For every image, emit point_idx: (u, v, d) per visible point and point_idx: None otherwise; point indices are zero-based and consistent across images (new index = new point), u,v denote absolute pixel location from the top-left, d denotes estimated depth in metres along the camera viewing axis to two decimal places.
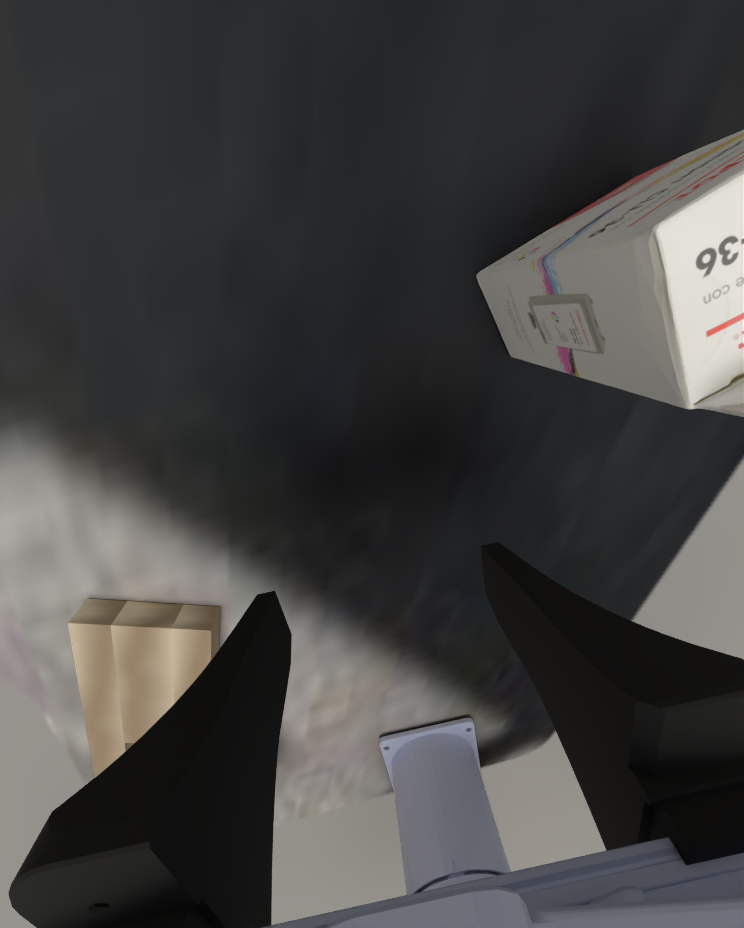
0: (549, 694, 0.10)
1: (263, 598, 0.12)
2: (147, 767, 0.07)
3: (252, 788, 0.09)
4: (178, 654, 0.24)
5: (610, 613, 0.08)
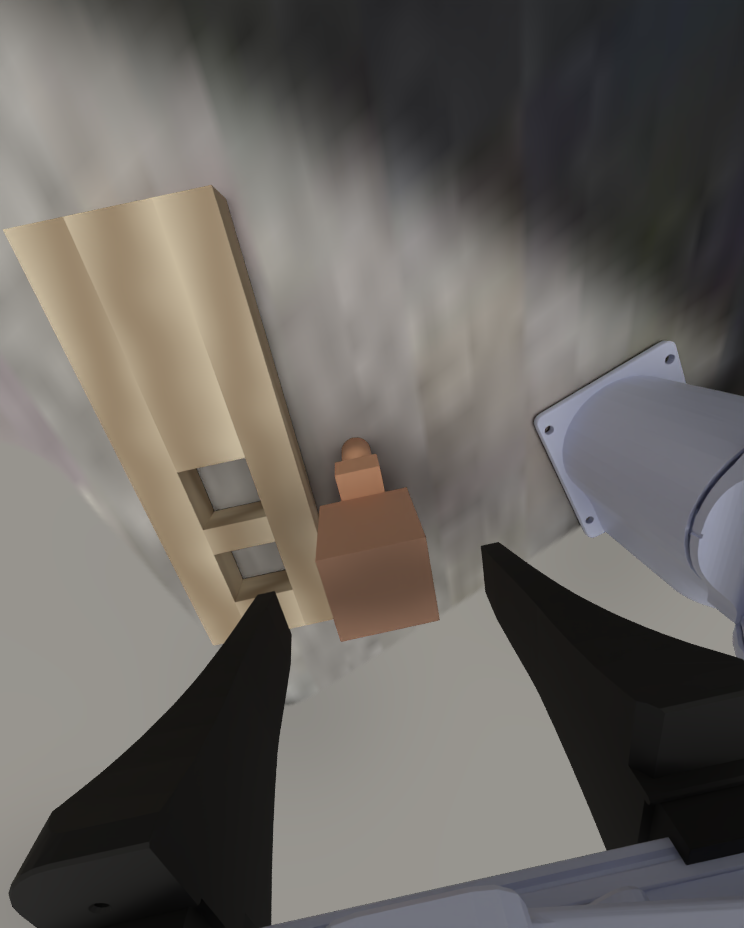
0: (549, 694, 0.10)
1: (263, 598, 0.12)
2: (147, 767, 0.07)
3: (252, 788, 0.09)
4: (182, 258, 0.15)
5: (610, 613, 0.08)
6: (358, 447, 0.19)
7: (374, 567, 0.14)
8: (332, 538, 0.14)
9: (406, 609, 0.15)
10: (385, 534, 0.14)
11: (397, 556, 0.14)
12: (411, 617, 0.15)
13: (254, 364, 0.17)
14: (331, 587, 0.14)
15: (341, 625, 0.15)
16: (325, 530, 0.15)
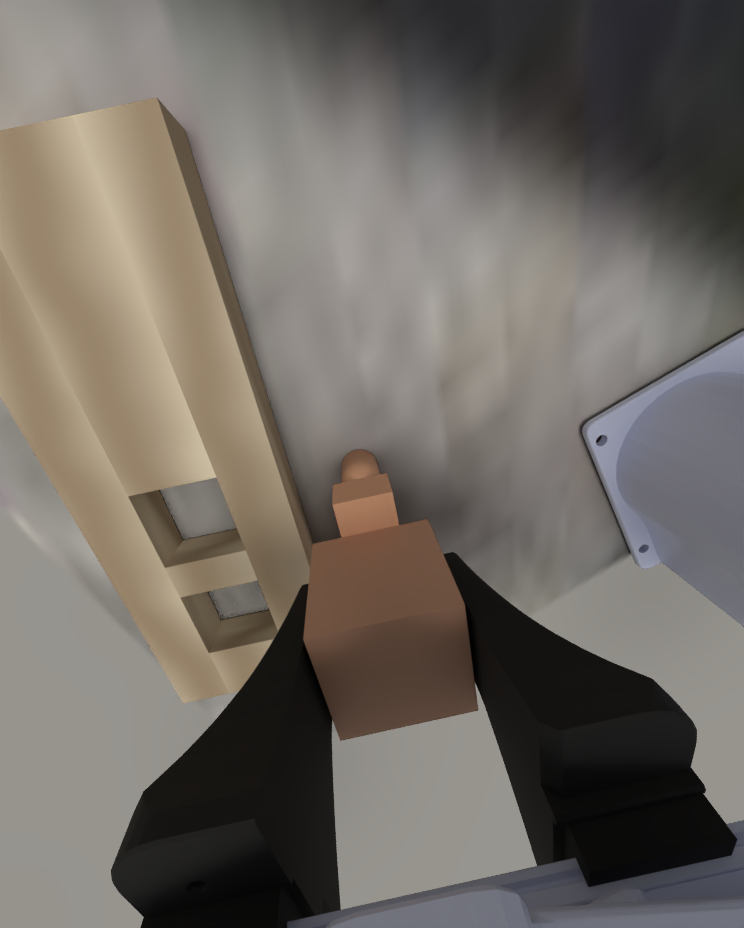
0: (490, 707, 0.10)
1: None
2: (230, 750, 0.07)
3: (318, 774, 0.09)
4: (121, 206, 0.11)
5: (542, 628, 0.08)
6: (363, 463, 0.15)
7: (389, 646, 0.09)
8: (328, 598, 0.10)
9: (433, 698, 0.10)
10: (405, 596, 0.10)
11: (421, 631, 0.09)
12: (439, 708, 0.11)
13: (225, 355, 0.13)
14: (327, 673, 0.10)
15: (341, 720, 0.10)
16: (319, 584, 0.11)
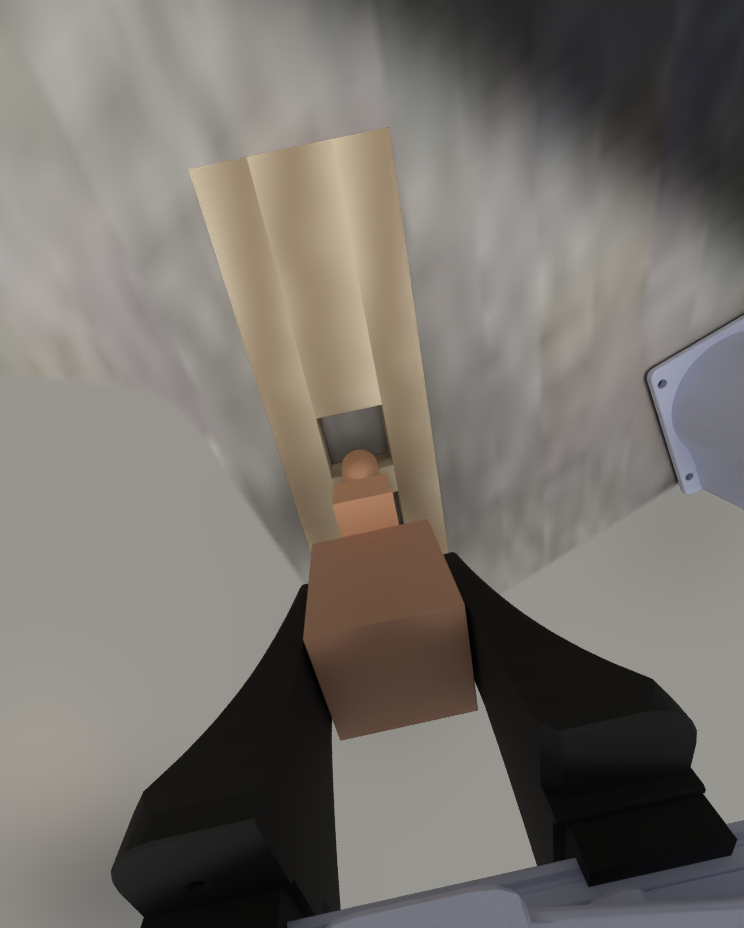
0: (490, 707, 0.10)
1: None
2: (230, 749, 0.07)
3: (318, 774, 0.09)
4: (352, 200, 0.16)
5: (542, 628, 0.08)
6: (363, 463, 0.15)
7: (389, 646, 0.09)
8: (328, 598, 0.10)
9: (432, 698, 0.10)
10: (404, 596, 0.10)
11: (421, 631, 0.09)
12: (439, 708, 0.11)
13: (403, 309, 0.17)
14: (327, 672, 0.10)
15: (341, 720, 0.10)
16: (319, 584, 0.11)
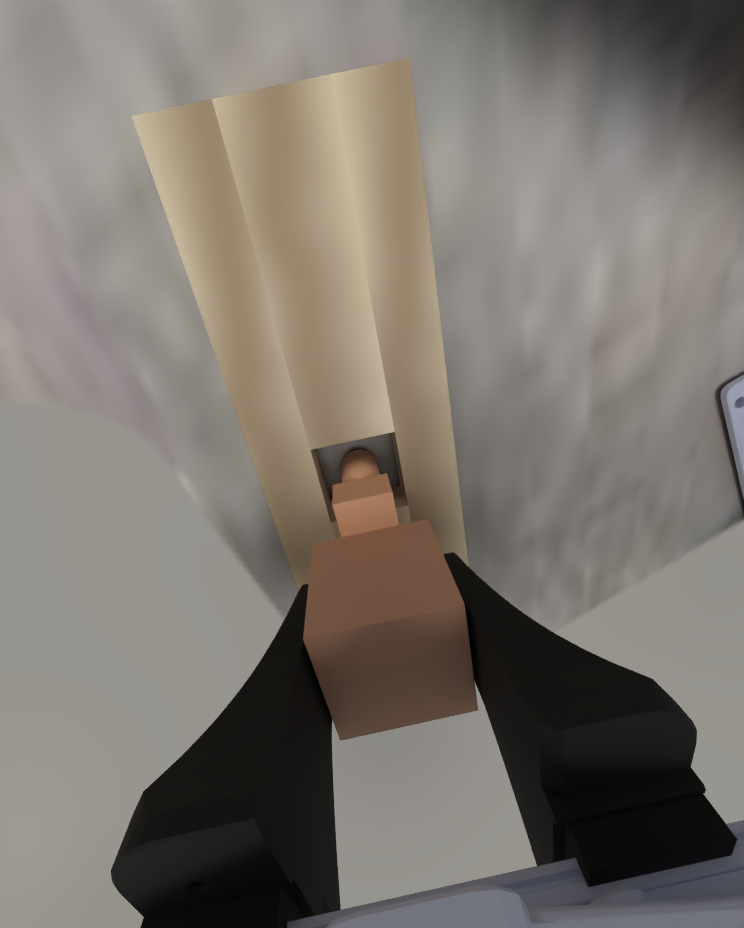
0: (490, 707, 0.10)
1: None
2: (231, 749, 0.07)
3: (317, 774, 0.09)
4: (358, 163, 0.11)
5: (542, 628, 0.08)
6: (363, 463, 0.15)
7: (389, 646, 0.09)
8: (328, 598, 0.10)
9: (432, 698, 0.10)
10: (404, 596, 0.10)
11: (421, 631, 0.09)
12: (439, 708, 0.11)
13: (425, 310, 0.13)
14: (327, 672, 0.10)
15: (341, 720, 0.10)
16: (319, 584, 0.11)
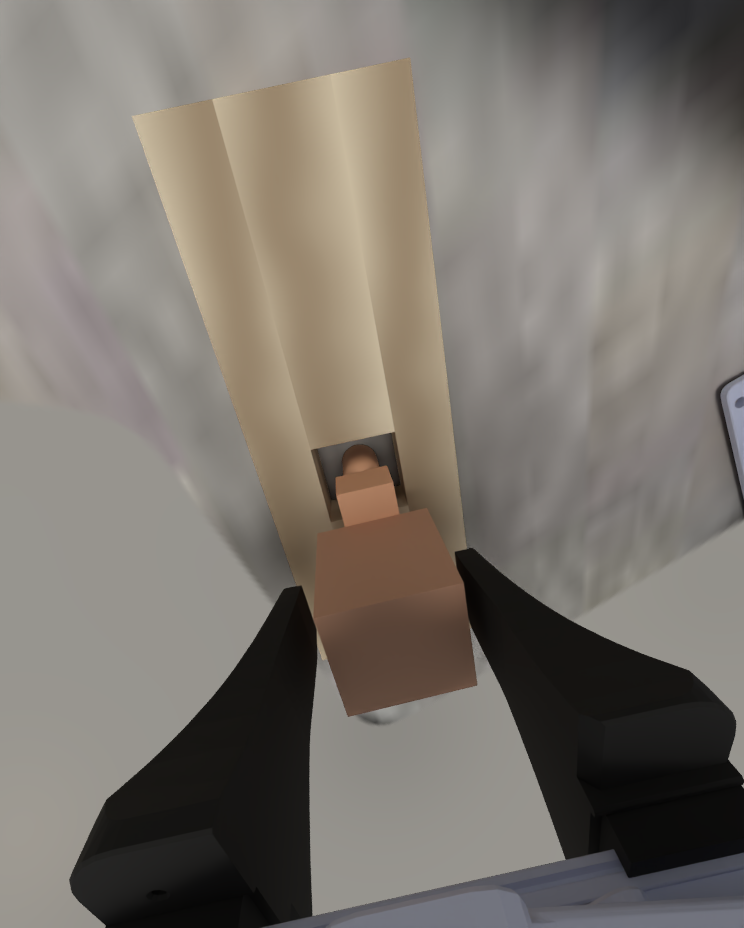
0: (514, 702, 0.10)
1: (291, 592, 0.12)
2: (196, 756, 0.07)
3: (291, 779, 0.09)
4: (358, 163, 0.12)
5: (570, 622, 0.08)
6: (363, 457, 0.16)
7: (394, 624, 0.10)
8: (335, 581, 0.11)
9: (434, 674, 0.11)
10: (407, 577, 0.10)
11: (424, 609, 0.10)
12: (440, 683, 0.11)
13: (425, 310, 0.13)
14: (335, 650, 0.10)
15: (348, 697, 0.11)
16: (325, 569, 0.11)
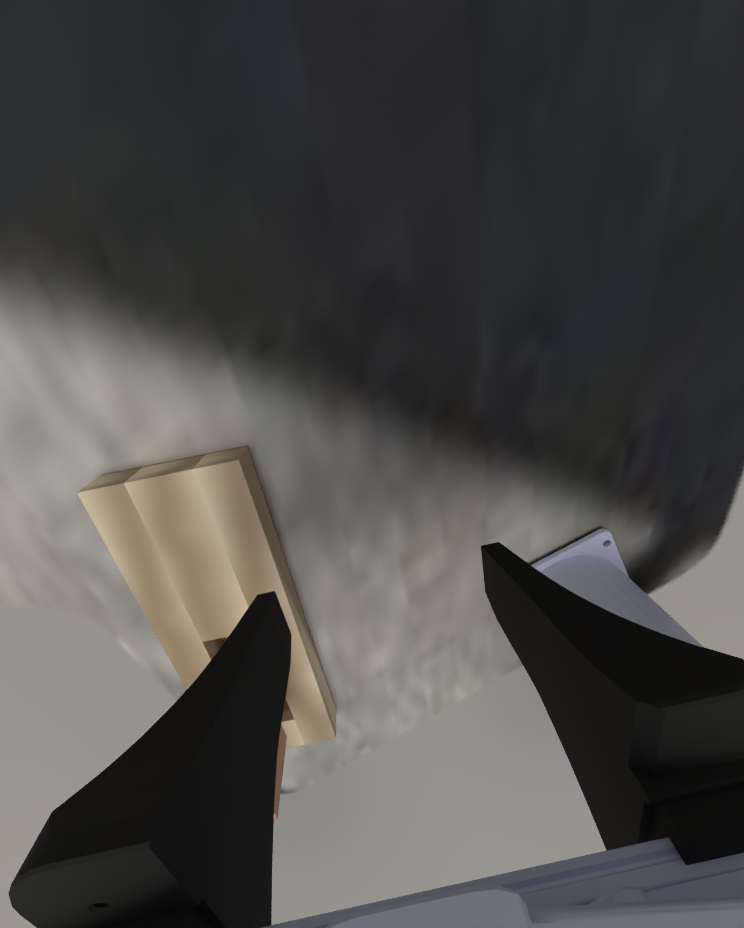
0: (549, 694, 0.10)
1: (263, 598, 0.12)
2: (147, 767, 0.07)
3: (252, 788, 0.09)
4: (214, 505, 0.19)
5: (610, 613, 0.08)
6: None
7: None
8: None
9: None
10: None
11: None
12: None
13: (267, 569, 0.21)
14: None
15: None
16: None
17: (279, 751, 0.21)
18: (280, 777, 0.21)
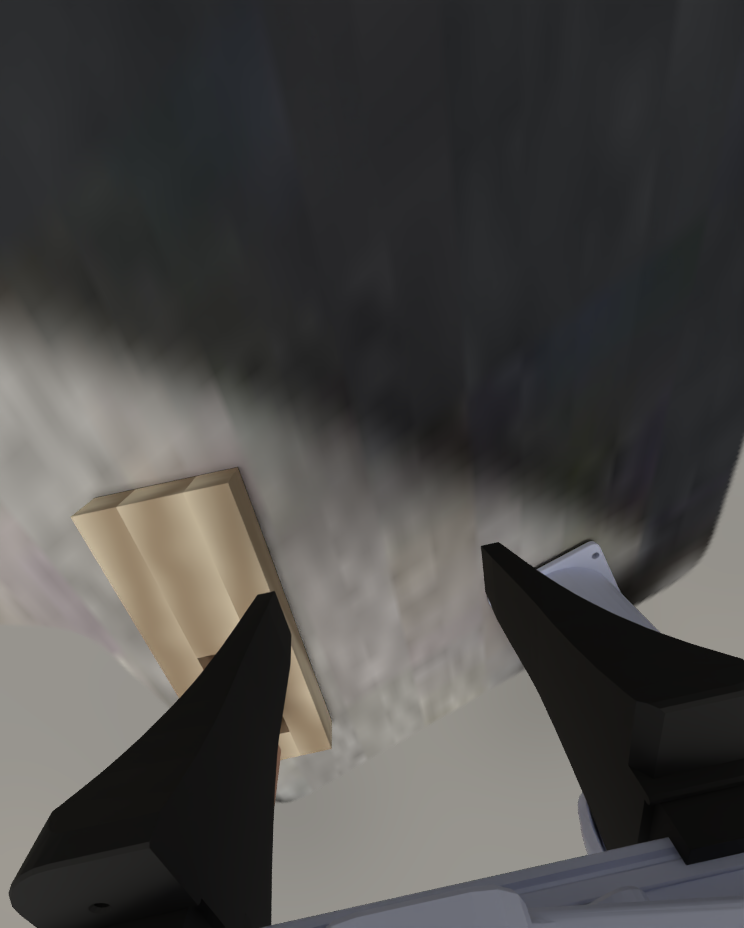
0: (549, 694, 0.10)
1: (263, 598, 0.12)
2: (147, 767, 0.07)
3: (252, 788, 0.09)
4: (205, 526, 0.20)
5: (610, 613, 0.08)
6: None
7: None
8: None
9: None
10: None
11: None
12: None
13: (259, 587, 0.21)
14: None
15: None
16: None
17: None
18: None
